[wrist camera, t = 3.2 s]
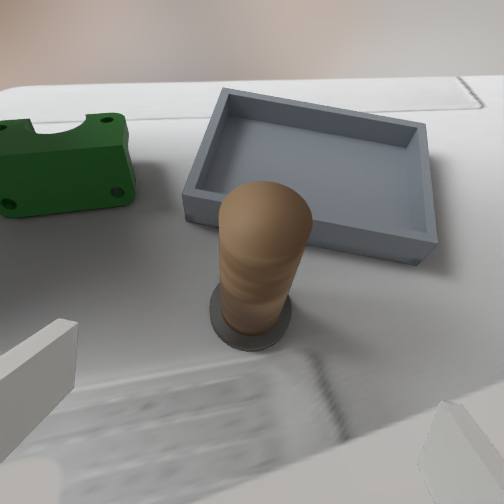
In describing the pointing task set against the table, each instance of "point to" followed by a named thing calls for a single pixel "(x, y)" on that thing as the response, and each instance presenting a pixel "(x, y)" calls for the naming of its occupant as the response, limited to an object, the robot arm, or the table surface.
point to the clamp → (65, 167)
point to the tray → (322, 172)
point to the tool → (258, 263)
